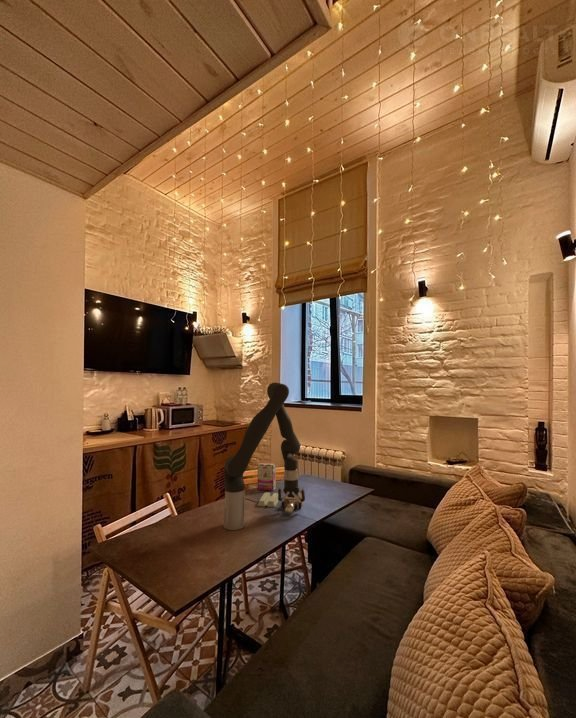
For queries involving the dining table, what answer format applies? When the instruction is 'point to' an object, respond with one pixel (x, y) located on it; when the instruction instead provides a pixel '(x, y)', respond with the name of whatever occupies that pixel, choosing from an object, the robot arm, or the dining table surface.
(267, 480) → the candy bar box
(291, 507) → the steel axle
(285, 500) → the bore block
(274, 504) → the axle cradle
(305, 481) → the dining table surface
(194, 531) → the dining table surface
